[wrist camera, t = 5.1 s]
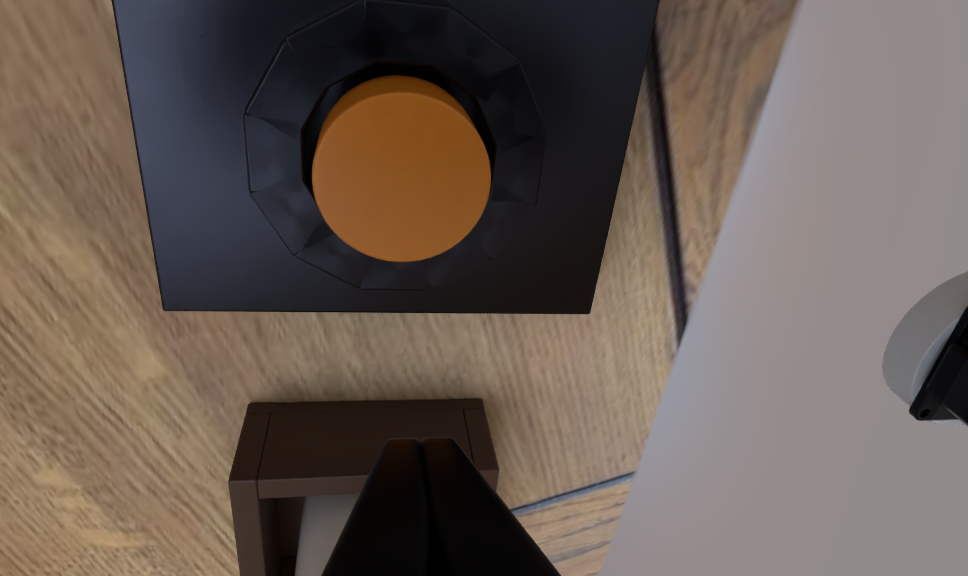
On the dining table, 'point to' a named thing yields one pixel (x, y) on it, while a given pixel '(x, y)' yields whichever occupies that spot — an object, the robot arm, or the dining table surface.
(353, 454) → the holder
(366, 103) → the button
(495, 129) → the base
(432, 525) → the robot arm
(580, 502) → the dining table surface
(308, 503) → the canister
